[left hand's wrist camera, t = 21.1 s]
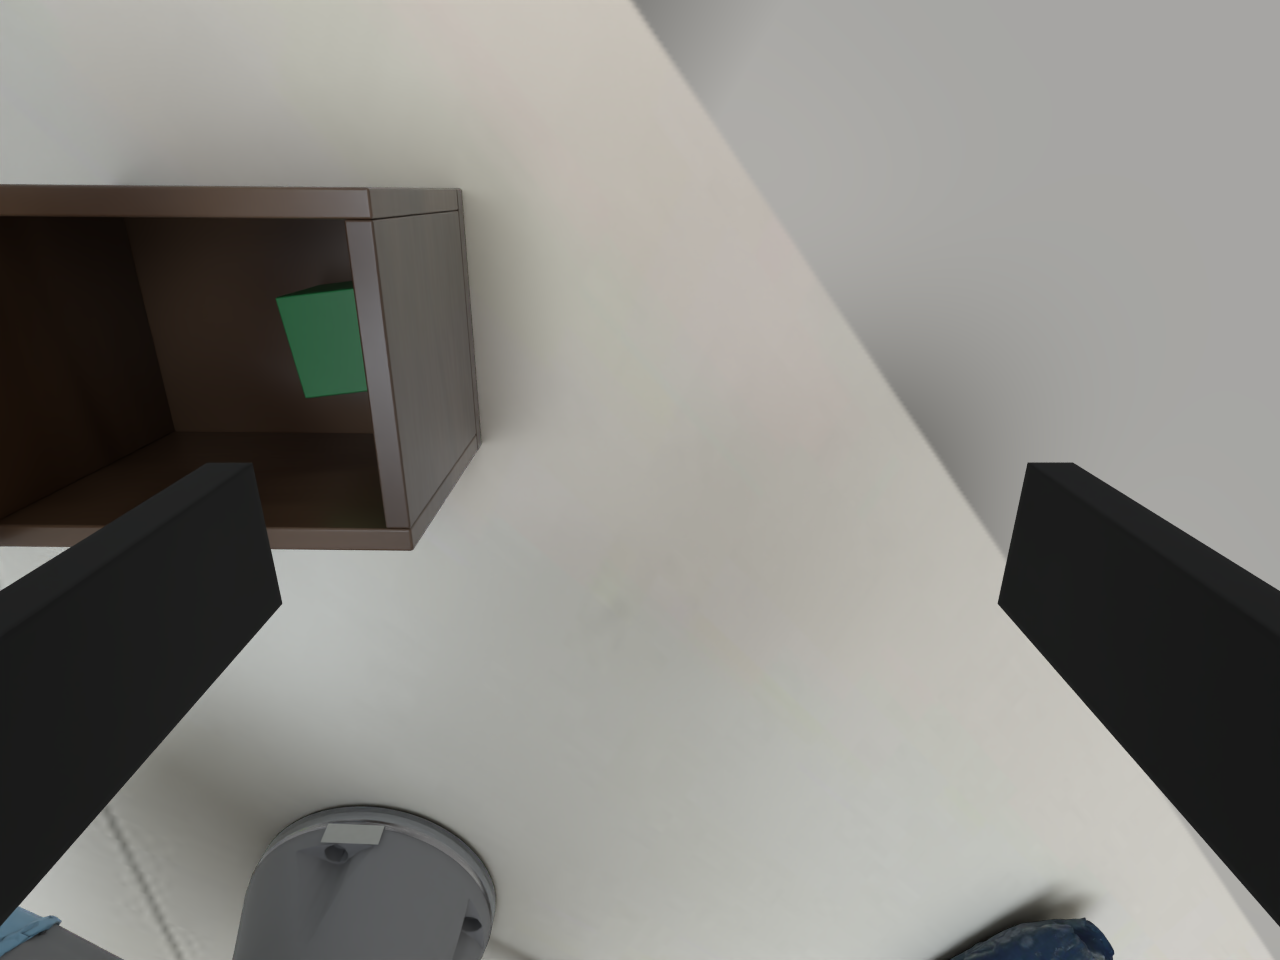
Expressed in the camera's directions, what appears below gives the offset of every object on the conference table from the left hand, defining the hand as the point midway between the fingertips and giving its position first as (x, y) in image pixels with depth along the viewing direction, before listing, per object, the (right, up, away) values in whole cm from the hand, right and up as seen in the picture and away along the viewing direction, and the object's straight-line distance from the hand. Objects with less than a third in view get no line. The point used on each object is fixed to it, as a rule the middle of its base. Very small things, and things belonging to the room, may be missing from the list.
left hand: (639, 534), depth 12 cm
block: (-12, +8, +20) cm, 24 cm away
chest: (-15, +8, +21) cm, 27 cm away
